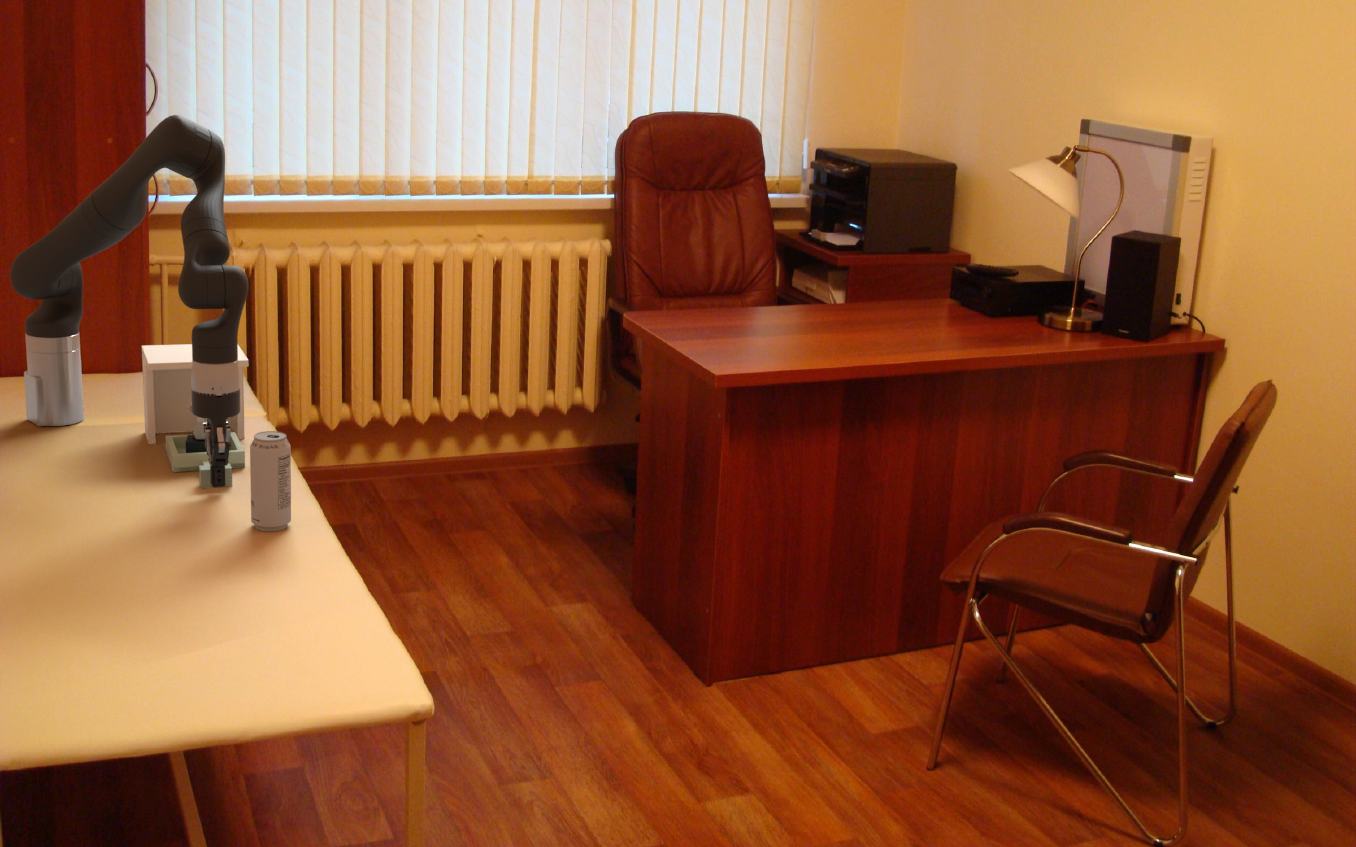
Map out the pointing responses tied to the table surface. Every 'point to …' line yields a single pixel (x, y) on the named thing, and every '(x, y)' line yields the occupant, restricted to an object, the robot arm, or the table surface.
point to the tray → (202, 458)
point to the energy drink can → (270, 481)
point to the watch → (196, 434)
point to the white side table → (176, 390)
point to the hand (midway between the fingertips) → (217, 485)
